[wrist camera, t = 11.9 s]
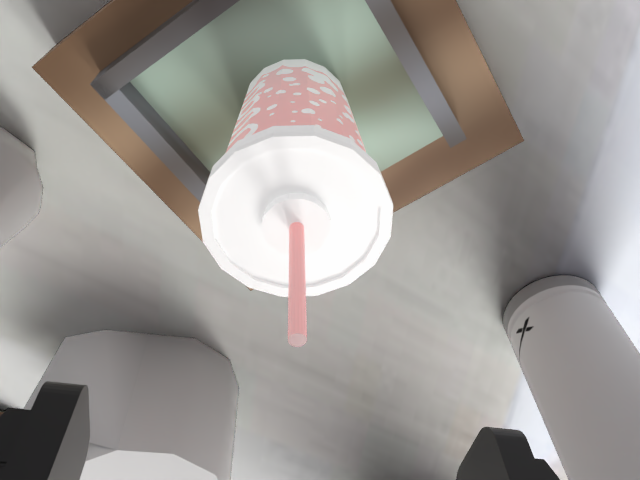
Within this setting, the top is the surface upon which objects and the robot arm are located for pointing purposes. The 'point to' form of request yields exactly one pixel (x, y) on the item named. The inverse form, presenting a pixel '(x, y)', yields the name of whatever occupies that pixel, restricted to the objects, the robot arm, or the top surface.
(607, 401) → the travel mug
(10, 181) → the salt shaker
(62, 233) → the top surface
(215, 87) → the dock
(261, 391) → the top surface
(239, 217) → the beverage cup
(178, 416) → the toilet tissue
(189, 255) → the top surface
